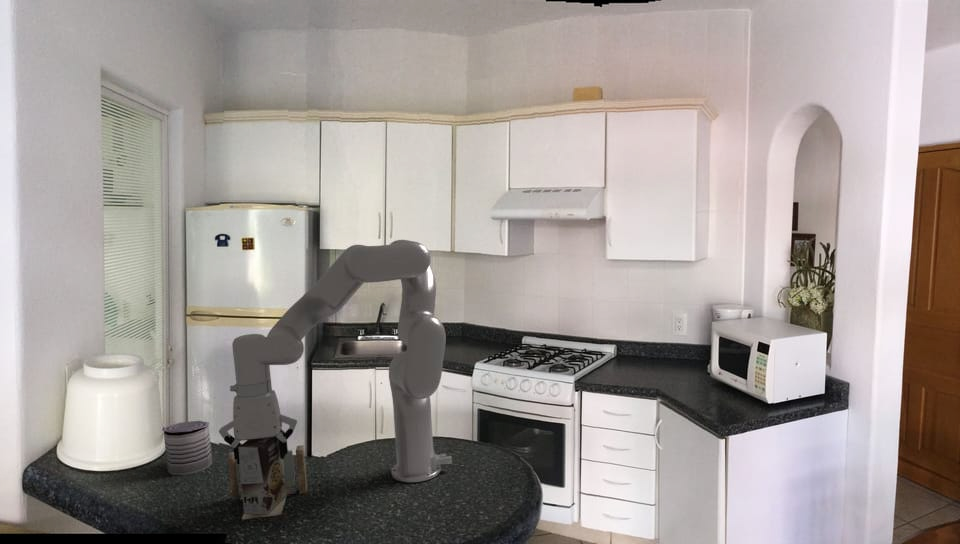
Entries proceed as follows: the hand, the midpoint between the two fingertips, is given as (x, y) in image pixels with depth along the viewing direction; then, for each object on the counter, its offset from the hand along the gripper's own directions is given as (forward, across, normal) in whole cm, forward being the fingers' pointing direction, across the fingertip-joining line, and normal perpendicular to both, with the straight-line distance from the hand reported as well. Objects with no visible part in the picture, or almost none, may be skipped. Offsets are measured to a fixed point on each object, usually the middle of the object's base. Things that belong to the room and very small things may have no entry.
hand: (261, 459), depth 149 cm
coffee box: (+11, 0, 0) cm, 11 cm away
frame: (+12, 0, +6) cm, 13 cm away
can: (+12, -25, +30) cm, 41 cm away
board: (+12, 0, 0) cm, 12 cm away
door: (+11, -1, +7) cm, 13 cm away
